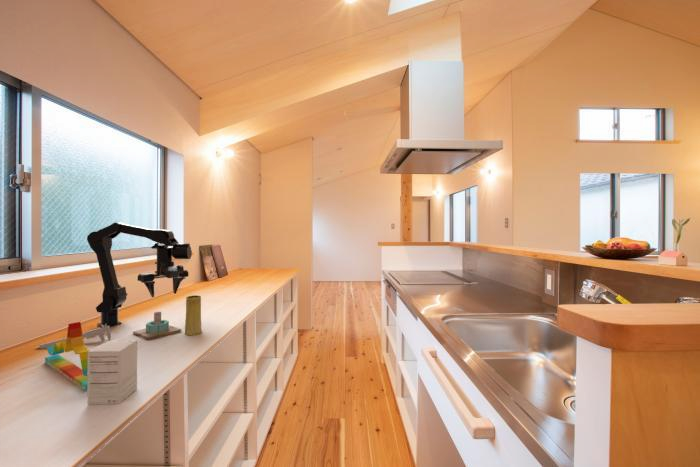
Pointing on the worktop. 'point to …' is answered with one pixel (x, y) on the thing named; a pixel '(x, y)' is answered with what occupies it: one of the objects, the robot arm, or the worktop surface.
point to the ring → (157, 327)
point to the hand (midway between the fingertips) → (164, 295)
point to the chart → (65, 366)
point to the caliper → (85, 335)
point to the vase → (193, 315)
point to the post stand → (151, 336)
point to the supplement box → (111, 372)
